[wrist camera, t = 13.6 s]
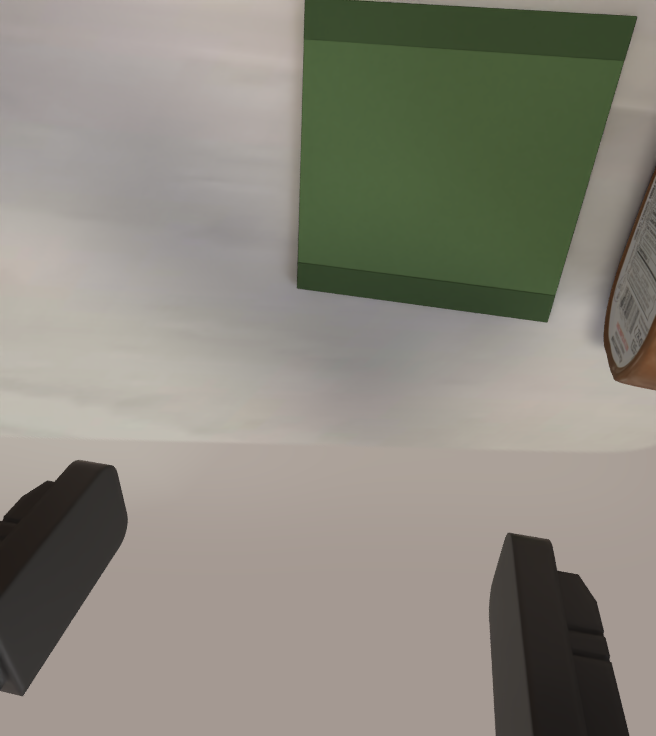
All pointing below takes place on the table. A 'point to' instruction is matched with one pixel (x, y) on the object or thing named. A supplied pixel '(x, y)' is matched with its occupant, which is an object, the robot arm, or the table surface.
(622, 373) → the tin
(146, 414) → the table surface
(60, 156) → the table surface
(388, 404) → the table surface
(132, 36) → the table surface
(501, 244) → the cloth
